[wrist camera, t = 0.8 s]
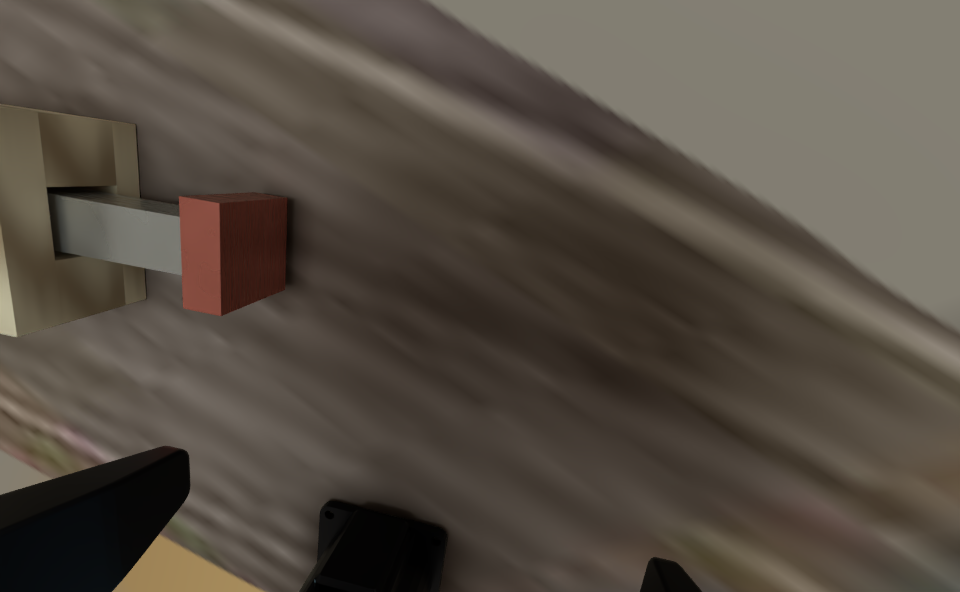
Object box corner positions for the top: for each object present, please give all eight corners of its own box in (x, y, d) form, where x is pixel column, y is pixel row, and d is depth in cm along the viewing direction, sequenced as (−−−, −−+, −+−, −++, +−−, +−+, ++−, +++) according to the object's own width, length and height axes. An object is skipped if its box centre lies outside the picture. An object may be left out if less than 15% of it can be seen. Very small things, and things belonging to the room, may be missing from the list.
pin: (285, 289, 20) (221, 315, 16) (40, 242, 22) (-71, 256, 18) (287, 197, 19) (219, 203, 15) (30, 155, 20) (-91, 149, 17)
